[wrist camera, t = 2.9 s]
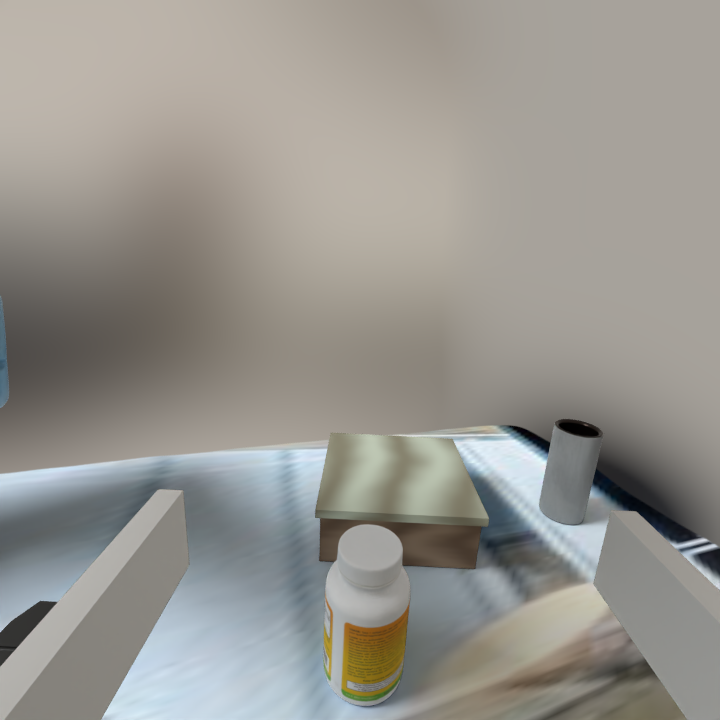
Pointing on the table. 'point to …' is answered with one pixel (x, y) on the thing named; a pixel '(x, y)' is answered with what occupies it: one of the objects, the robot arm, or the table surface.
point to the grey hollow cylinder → (570, 470)
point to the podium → (401, 497)
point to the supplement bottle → (366, 616)
